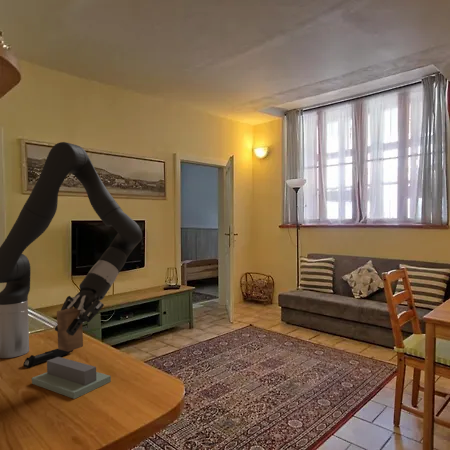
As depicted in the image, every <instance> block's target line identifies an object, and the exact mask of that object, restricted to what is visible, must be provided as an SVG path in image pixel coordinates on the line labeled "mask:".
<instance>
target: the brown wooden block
mask: <svg viewBox="0 0 450 450" xmlns="http://www.w3.org/2000/svg"><path fill="white" fill-rule="evenodd" d="M78 312H79V310H78V309H76V308H74V307H73V308H71V309H64V310H61V309H60V310H57V311H56V325H57V328H58V331H56V332H57V349H59V350H64V351H68V352H69V351H72V350H73V351H75V350H77V349H80V348H83V347H84V335H83V333H84V330H83V324H81V325H80V327H79V328H78V330H77V331H76V333H75V334H74V335H73V336H72V335H69V334H68V333H67V332H66V330H67V329H68V327H69V326H70V325H71V323H72V322H73V320H74V319H76V315H77V314H78Z"/></svg>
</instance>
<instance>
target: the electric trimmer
mask: <svg viewBox="0 0 450 450" xmlns="http://www.w3.org/2000/svg"><path fill="white" fill-rule="evenodd" d="M72 352H74V350H72V351H69V352H68V351H64V350H59V349H58V348H55V349H51V350H48V351H45V352H43V353H40V354H37V355H33V354H31V355H30V356H28V357H26V358H25V359H24V362H23V364H22V366H23V367H24V368H25V369H26V368H27V369H28V368H29V369H30V368H33V366H35V365H38V364H41V363H44V362H47V361H48V360H51V359H54V358H56V357H63V356H66V355H68V354H70V353H72Z"/></svg>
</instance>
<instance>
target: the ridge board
mask: <svg viewBox="0 0 450 450" xmlns="http://www.w3.org/2000/svg"><path fill="white" fill-rule="evenodd" d="M111 382H112V376H111V375H109V374H105V373H102V372H99V371H97V366H94V365H91V364H87V363H83V362H79V361H76V360H72V359H68V358H65V357H63V356H61V357H56V358H54V359H50V360H47V361H46V372H44V373H41V374H39V375H36V376H32V378H31V384H33V385H34V386H37V387H40V388H44V389H45V390H49V391H52V392H55V393H56V394H60V395H62V396H65V397H68V398H71V399H73V400H74V399H77V398H79V397H81V396H84V395H85V394H88V393H90V392H92V391H94V390H96V389H98V388H101V387H102V386H104V385H106V384H109V383H111Z"/></svg>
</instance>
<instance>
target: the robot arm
mask: <svg viewBox="0 0 450 450" xmlns="http://www.w3.org/2000/svg"><path fill="white" fill-rule="evenodd" d="M69 174H72V175H73V176H74V177H75V178H76V179H77V180H78V181H79V182H80V183H81V185H82V186H83V188H84V190H85V193H86V195H87V198H88V201H89V203H90V206H91V207H92V209H93V211H94V212H95V213H96V215H97V216H98V218H100V220H101V221H102V223H103V224H104V225H105V226H106V227H107V228H113V229H114V230H115V231H116V232H117V234H116V235H115V236H114V239H113V240H112V242H111V243H110V244H109V246H108V247H107V249H106V250H105V251H104V252H103V254H102V255H101V256H100V257H99V259H98V260H97V261H96V263H95V264H94V265H93V266H92V267H91V268H90V270H89V271H88V273H87V274H86V275H85V277H84V278H83V280H82V281H81V282H80V284H79V286H78V287H79V292H78V293H77V294H75V296H70V295H68V296H67V297H66V299H65V300H64V303H63V305H62V306H61V308H60V310H64V309H71V308H76V309H78V310H79V312H78V314H77V315H76V319H74V320H73V322H72V323H71V325H70V326H69V327H68V329H67V330H66V332H67V333H68V334H69V335H72V336H73V335H74V334H75V333H76V331H77V330H78V328H79V327H80V325H81V324H82V325H83V324H84V323H85V322H87V323H89V322H91V320H93V318H95V316H96V315H97V314H98V313H99V312H100V311H101V310H102V308H104V306H105V304H104V303H103V301H102V300H103V299H104V298H105V296H106V295H107V293H109V290H110V289H111V287H112V286H113V284H114V283H115V281H116V279H117V277H118V275H119V273H120V271H122V269H123V268H124V266H125V264H126V262H127V259H128V257H129V256H130V254H132V252H133V250H134V249H135V248H136V247H137V246H138V244H139V243H140V242H141V241H142V239H143V231H142V229H141V227H140V225H139V224H138V223H137V222H136V221H134V219H132V218H131V217H130V216H129V215H128V214H127V213H125V212H124V211H123V209H122V208H121V206H120V205H119V204H118V203H117V201H116V199H115V198H114V197H113V196H112V194H111V193H110V191H109V190H108V188H107V186H105V184H104V183H103V181H102V178H101V177H100V176H99V174H98V172H97V170H96V168H95V166H94V164H93V163H92V160H91V158H90V157H89V155H88V153H87V152H86V150H85V148H83V147H81V146H80V145H77V144H74V143H70V142H65V141H61V142H58V143H56V144H54V145H53V146H52V147H51V149H50V150H49V152H48V155H47V157H46V160H45V162H44V164H43V167H42V170H41V172H40V174H39V177H38V179H37V181H36V183H35V184H34V186H33V188H32V190H31V193H30V194H29V196H28V198H27V200H26V201H25V203H24V204H23V207H22V208H21V210H20V212H19V214H18V216H17V218H16V221H15V222H14V224H13V226H12V227H11V229H10V231H9V233H8V235H7V236H6V238H5V239H4V241H3V242H2V244H1V245H0V284H4V283H5V284H6V285H5V287H4V288H3V289H2V290H1V291H0V359H10V358H16V357H20V356H24V355H26V354H27V353H29V352H30V337H29V336H30V333H29V332H30V331H29V330H30V328H29V326H30V325H29V294H30V290H31V273H32V272H31V270H32V269H31V263H30V260H29V259H28V257H27V255H26V254H24V251H25V250H26V249H27V248H28V247H29V246H30V245H31V244H32V243H33V242H35V241H36V240H37V239H38V238H39V237H40V236H42V235H43V234H44V233H45V231H46V230H47V229H48V228H49V226H50V225H51V222H52V221H53V219H54V217H55V215H56V213H57V210H58V199H59V191H60V189H61V187H62V184H63V182H64V181H65V179H66V178H67V176H68V175H69ZM54 330H55V331H56V332H57V331H58V328H57V324H56V325H55V327H54Z"/></svg>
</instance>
